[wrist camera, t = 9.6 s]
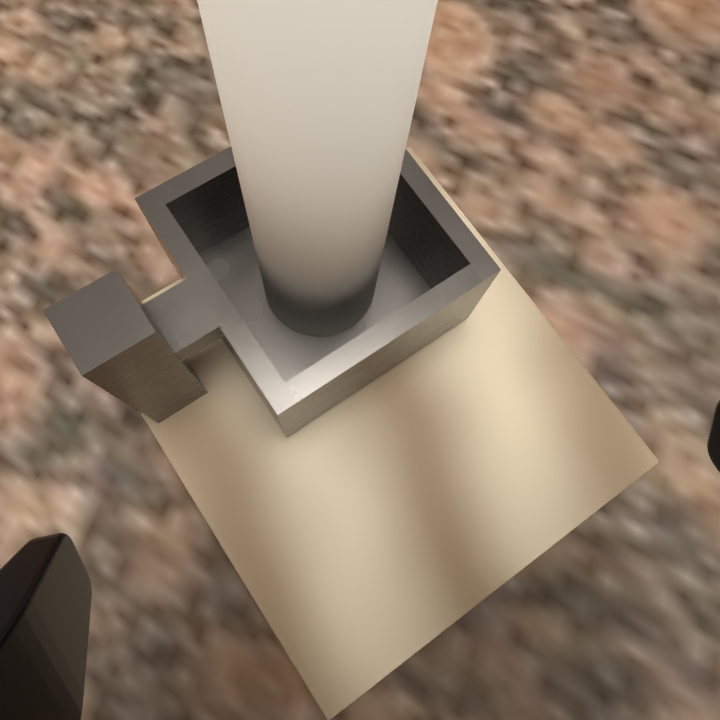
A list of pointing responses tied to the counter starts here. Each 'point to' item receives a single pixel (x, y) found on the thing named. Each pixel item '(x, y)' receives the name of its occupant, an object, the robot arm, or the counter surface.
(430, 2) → the white tall cylinder
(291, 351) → the cup bracket
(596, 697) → the counter surface
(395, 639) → the mounting board
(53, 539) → the robot arm
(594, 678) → the counter surface
